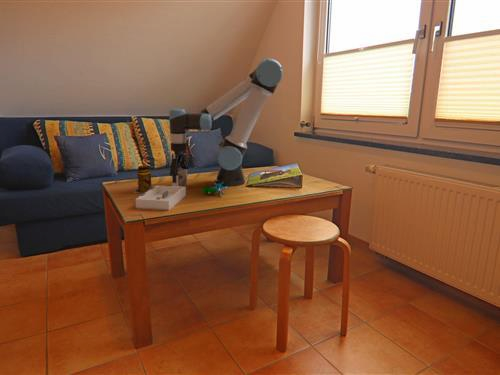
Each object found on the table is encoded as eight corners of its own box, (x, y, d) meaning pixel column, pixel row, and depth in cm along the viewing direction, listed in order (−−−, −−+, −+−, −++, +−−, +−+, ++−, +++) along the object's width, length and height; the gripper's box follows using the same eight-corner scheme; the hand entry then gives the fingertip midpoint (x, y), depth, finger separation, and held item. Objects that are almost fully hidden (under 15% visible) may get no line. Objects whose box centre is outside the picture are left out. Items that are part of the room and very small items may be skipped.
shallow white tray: (185, 195, 160) (185, 186, 159) (169, 210, 139) (168, 200, 138) (156, 193, 162) (156, 184, 160) (136, 208, 141) (135, 198, 139)
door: (188, 186, 175) (187, 169, 172) (182, 191, 165) (181, 173, 163) (180, 186, 175) (179, 168, 173) (173, 191, 166) (173, 173, 163)
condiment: (152, 192, 163) (150, 168, 160) (133, 193, 161) (131, 168, 158) (152, 188, 170) (151, 164, 167) (134, 189, 168) (133, 165, 165)
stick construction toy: (228, 187, 165) (224, 177, 159) (230, 199, 161) (226, 189, 154) (204, 194, 166) (199, 184, 160) (206, 205, 161) (200, 196, 155)
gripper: (179, 138, 177) (180, 179, 182) (161, 145, 153) (163, 191, 158) (193, 139, 176) (194, 179, 181) (177, 146, 152) (179, 192, 157)
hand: (180, 185), depth 170 cm, fingers open, 13 cm apart
